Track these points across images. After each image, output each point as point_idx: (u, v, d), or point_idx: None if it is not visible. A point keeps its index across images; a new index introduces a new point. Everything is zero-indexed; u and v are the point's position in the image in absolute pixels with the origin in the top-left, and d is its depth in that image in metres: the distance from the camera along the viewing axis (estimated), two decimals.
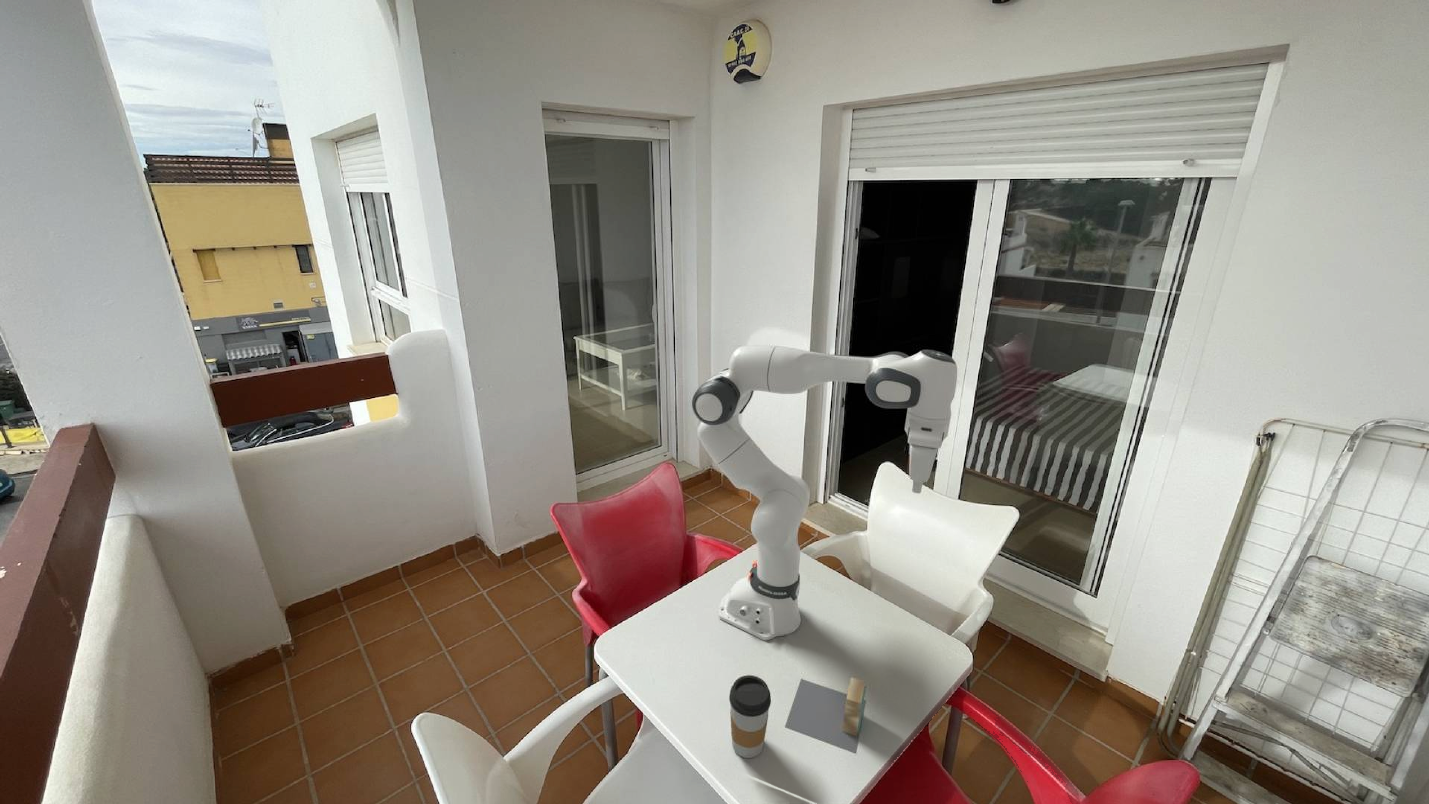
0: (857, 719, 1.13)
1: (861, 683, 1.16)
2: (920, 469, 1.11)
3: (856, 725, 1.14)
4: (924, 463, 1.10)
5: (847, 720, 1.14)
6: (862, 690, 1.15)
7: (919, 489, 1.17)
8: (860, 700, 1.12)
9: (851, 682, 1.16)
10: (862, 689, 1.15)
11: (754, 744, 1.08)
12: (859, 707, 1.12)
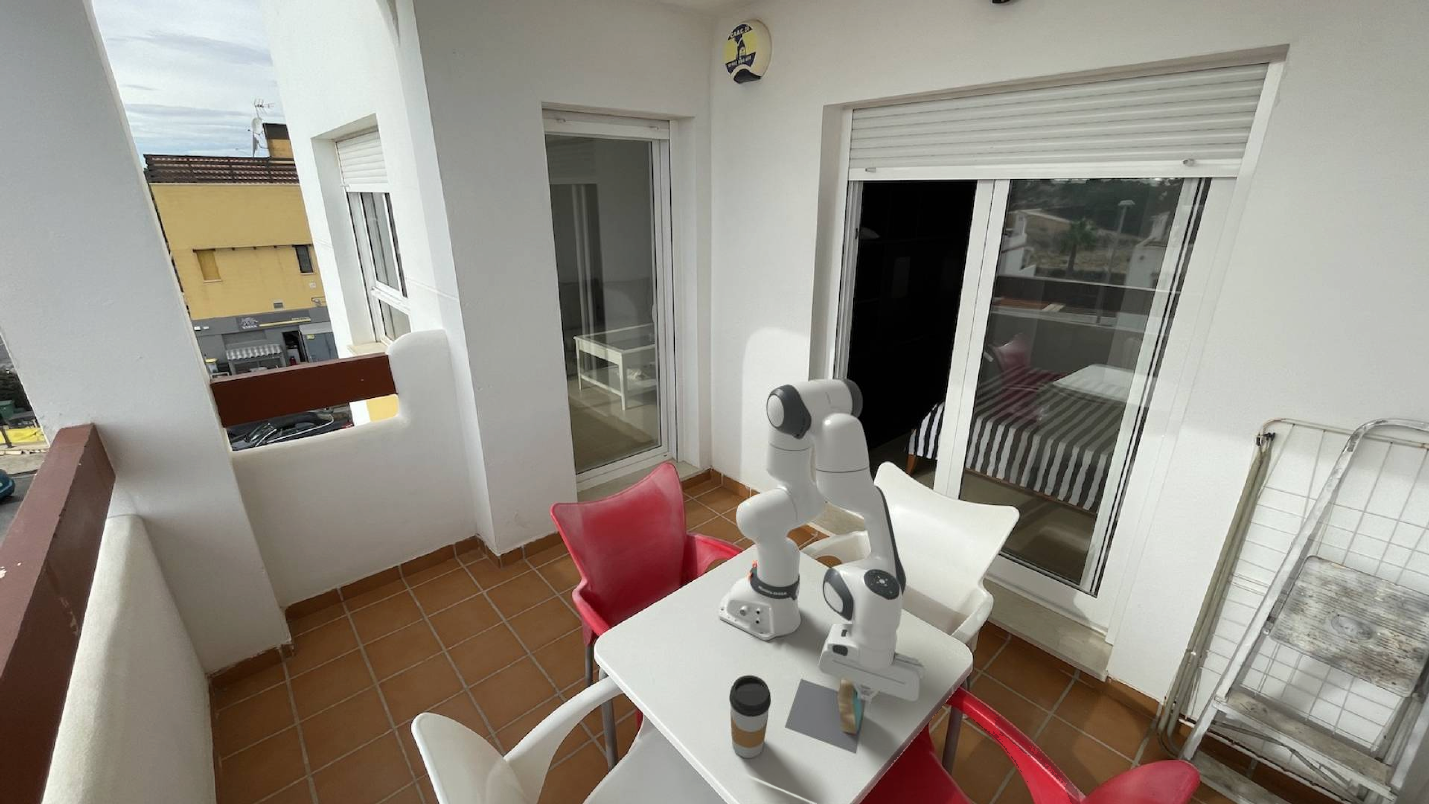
0: (852, 716, 1.13)
1: None
2: None
3: (853, 722, 1.14)
4: None
5: (844, 719, 1.14)
6: (853, 686, 1.15)
7: (857, 694, 1.14)
8: (851, 695, 1.13)
9: (842, 680, 1.17)
10: None
11: (754, 744, 1.08)
12: (851, 703, 1.12)
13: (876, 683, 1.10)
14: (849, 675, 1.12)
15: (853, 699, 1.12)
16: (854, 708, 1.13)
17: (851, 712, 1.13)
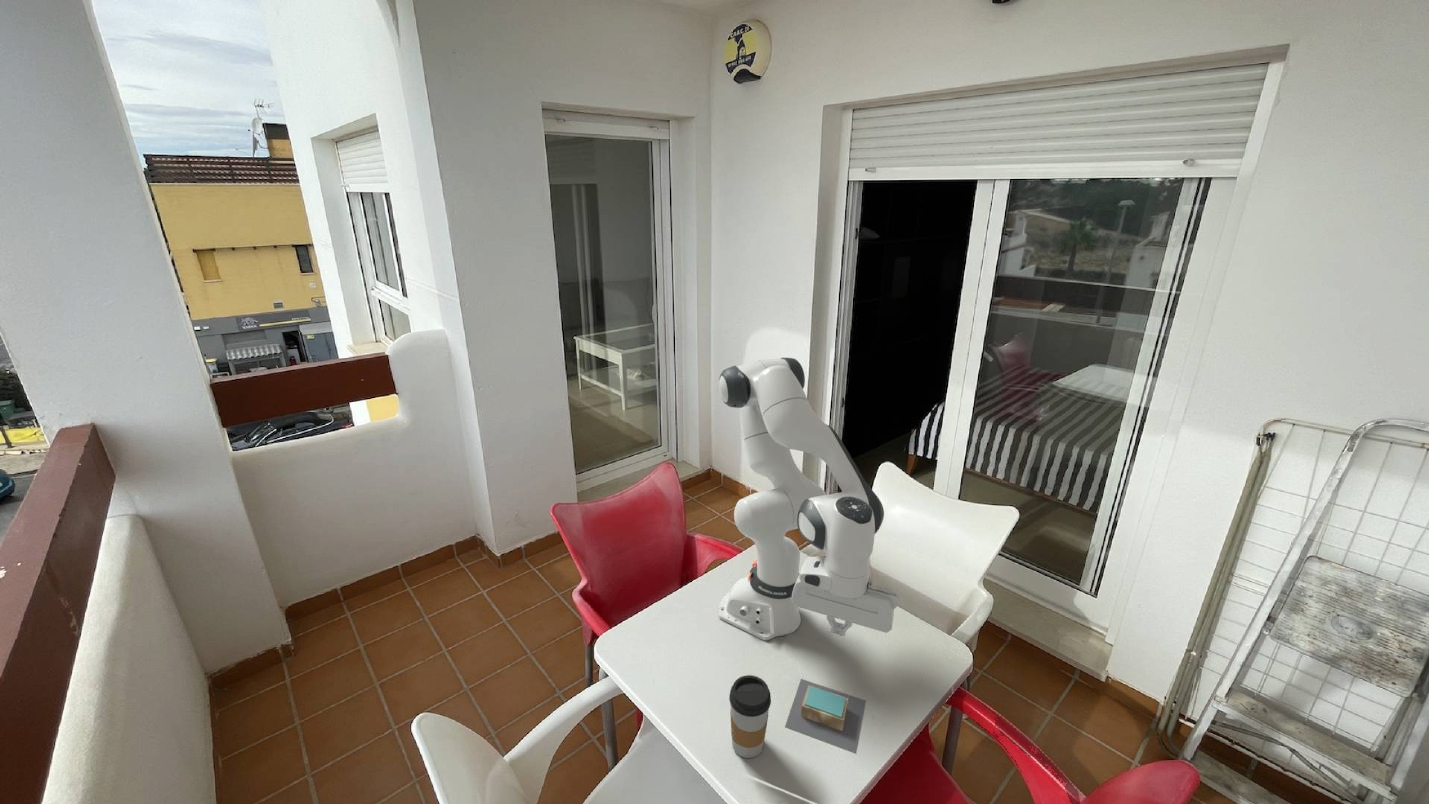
0: (821, 713, 1.16)
1: (807, 689, 1.23)
2: None
3: (829, 716, 1.16)
4: None
5: (827, 722, 1.16)
6: (805, 694, 1.21)
7: (831, 628, 1.12)
8: None
9: None
10: None
11: (754, 744, 1.08)
12: (806, 708, 1.17)
13: (849, 614, 1.08)
14: (822, 607, 1.10)
15: (804, 704, 1.18)
16: (814, 708, 1.17)
17: (817, 713, 1.17)
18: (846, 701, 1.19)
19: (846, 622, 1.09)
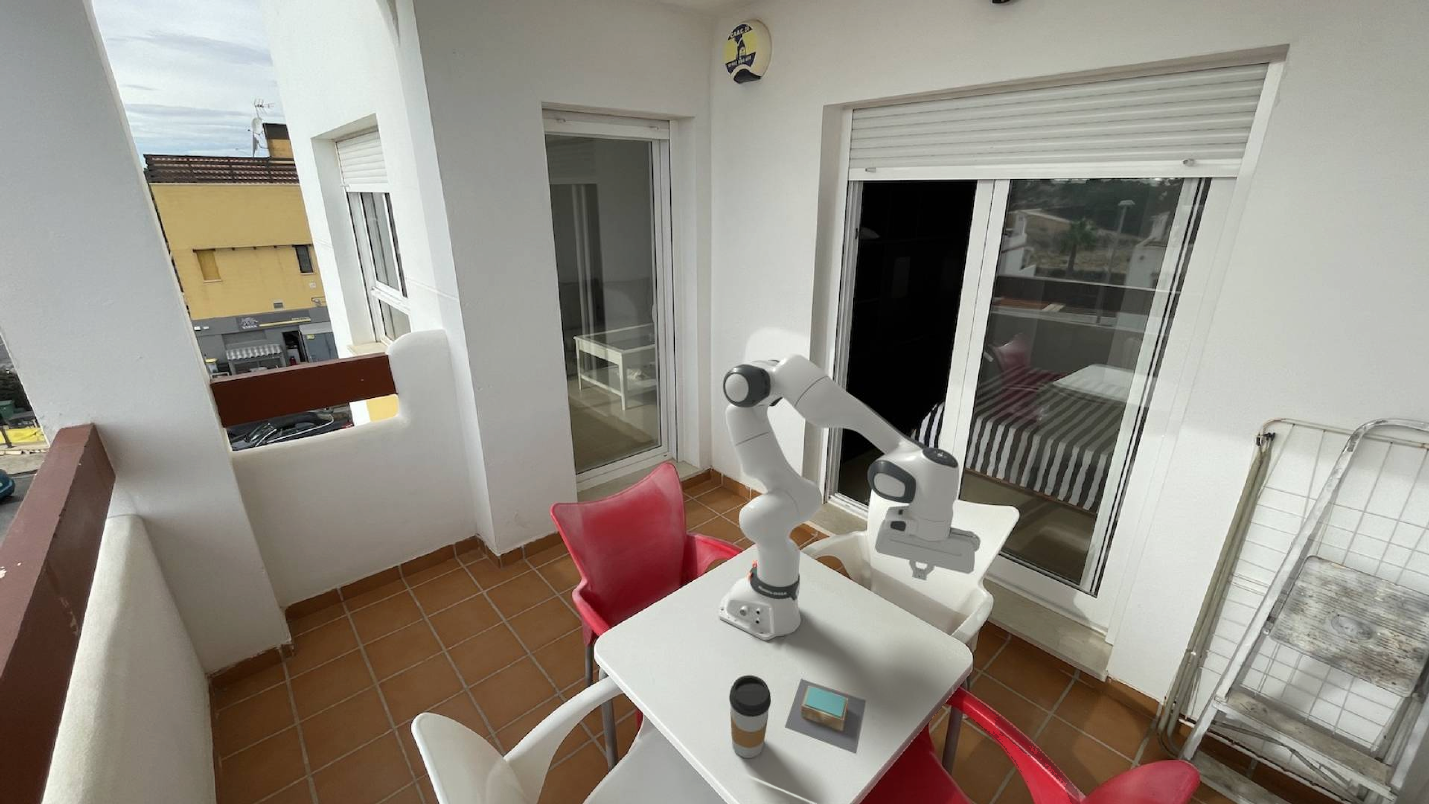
0: (821, 713, 1.16)
1: (807, 689, 1.23)
2: None
3: (829, 716, 1.16)
4: (878, 533, 1.20)
5: (827, 722, 1.16)
6: (805, 694, 1.21)
7: None
8: None
9: None
10: None
11: (754, 744, 1.08)
12: (806, 708, 1.17)
13: (932, 558, 1.15)
14: (906, 552, 1.17)
15: (804, 704, 1.18)
16: (814, 708, 1.17)
17: (817, 713, 1.17)
18: (846, 701, 1.19)
19: (928, 566, 1.17)
